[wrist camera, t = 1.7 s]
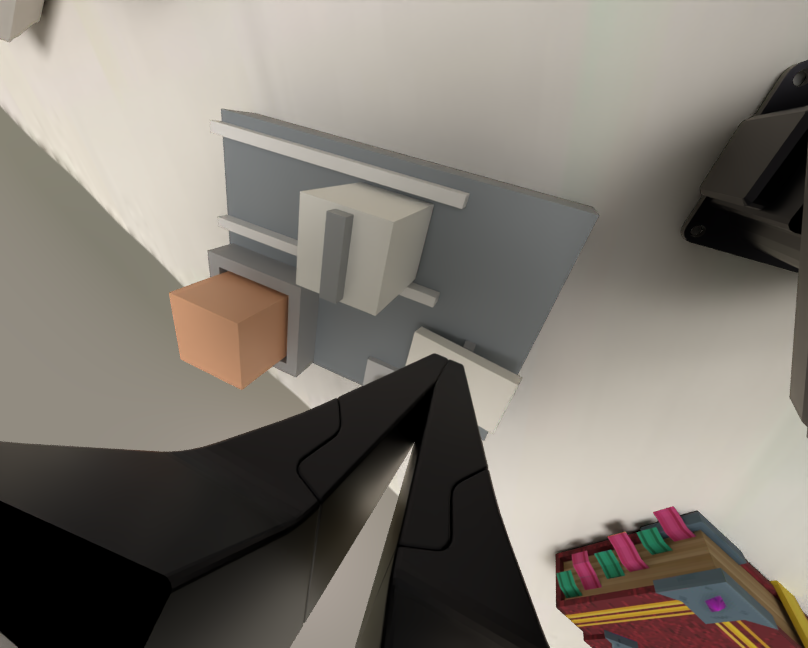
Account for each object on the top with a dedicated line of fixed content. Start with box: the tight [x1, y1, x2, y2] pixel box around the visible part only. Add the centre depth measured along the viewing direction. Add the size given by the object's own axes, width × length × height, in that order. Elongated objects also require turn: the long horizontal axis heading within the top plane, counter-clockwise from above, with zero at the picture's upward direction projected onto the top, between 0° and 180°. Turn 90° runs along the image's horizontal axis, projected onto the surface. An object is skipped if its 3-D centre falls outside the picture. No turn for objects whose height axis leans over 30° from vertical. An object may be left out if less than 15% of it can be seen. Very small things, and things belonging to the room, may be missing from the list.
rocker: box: [405, 327, 522, 434], centre depth 19 cm, size 6×4×1 cm, turn 77°
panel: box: [208, 109, 599, 440], centre depth 20 cm, size 20×14×4 cm
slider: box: [296, 182, 434, 316], centre depth 15 cm, size 4×4×6 cm
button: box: [169, 271, 289, 390], centre depth 20 cm, size 5×5×4 cm
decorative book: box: [556, 506, 808, 648], centre depth 22 cm, size 11×16×5 cm
